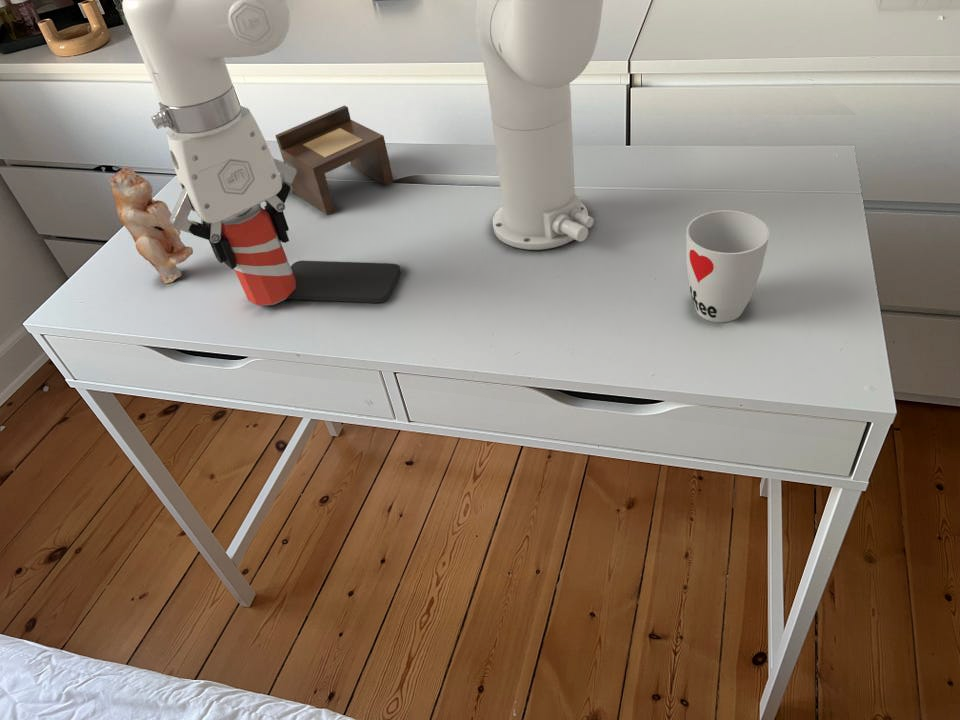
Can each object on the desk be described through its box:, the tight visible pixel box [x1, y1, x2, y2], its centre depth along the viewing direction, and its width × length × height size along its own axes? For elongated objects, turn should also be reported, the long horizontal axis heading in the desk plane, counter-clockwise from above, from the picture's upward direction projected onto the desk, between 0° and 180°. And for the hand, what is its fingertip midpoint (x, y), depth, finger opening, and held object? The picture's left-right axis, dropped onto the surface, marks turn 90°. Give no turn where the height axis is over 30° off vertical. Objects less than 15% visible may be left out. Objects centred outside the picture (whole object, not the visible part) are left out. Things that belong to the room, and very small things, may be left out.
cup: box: [685, 209, 770, 323], centre depth 82 cm, size 8×8×10 cm
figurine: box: [108, 166, 194, 284], centre depth 100 cm, size 6×8×15 cm
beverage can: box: [221, 203, 296, 307], centre depth 94 cm, size 6×6×12 cm
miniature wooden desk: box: [275, 105, 395, 216], centre depth 114 cm, size 10×12×10 cm
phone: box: [285, 260, 402, 304], centre depth 98 cm, size 7×1×15 cm
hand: (255, 249), depth 93 cm, fingers closed on beverage can, 6 cm apart
